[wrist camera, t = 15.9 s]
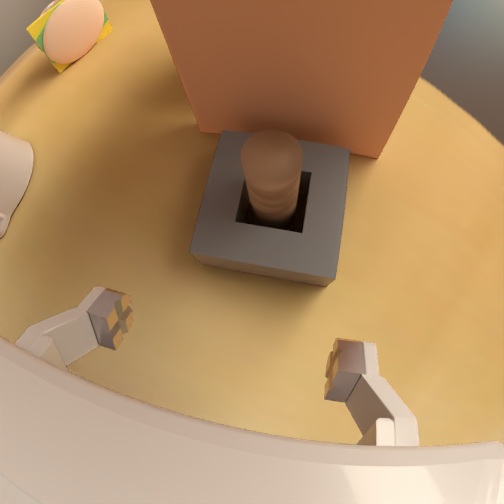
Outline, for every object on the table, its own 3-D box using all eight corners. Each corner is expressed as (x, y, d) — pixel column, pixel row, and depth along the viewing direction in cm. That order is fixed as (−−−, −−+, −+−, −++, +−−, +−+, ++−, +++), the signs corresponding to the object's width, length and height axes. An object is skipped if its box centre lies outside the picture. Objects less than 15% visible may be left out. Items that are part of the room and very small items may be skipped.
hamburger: (99, 23, 44) (75, -20, 32) (118, 32, 42) (94, -17, 30) (50, 64, 42) (19, 24, 31) (64, 77, 40) (30, 31, 29)
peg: (262, 241, 31) (252, 190, 20) (248, 205, 32) (232, 140, 21) (300, 227, 31) (312, 170, 20) (285, 192, 32) (288, 122, 21)
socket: (326, 286, 30) (335, 278, 25) (202, 264, 31) (188, 252, 26) (340, 173, 32) (349, 148, 27) (229, 155, 34) (221, 129, 29)
